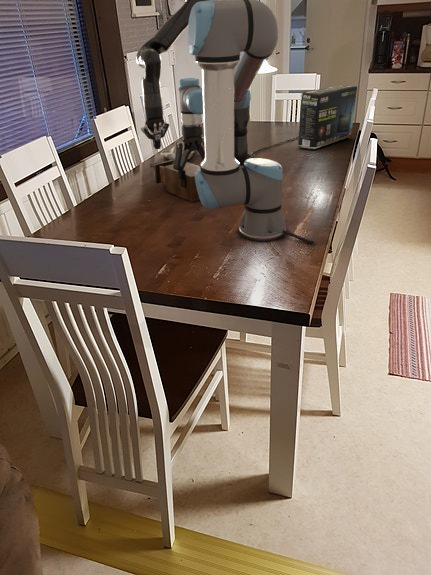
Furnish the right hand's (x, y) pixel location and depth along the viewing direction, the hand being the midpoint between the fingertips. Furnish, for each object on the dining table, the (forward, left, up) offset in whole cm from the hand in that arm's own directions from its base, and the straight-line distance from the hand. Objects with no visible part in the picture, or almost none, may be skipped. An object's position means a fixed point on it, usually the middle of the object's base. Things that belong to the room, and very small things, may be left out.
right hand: (195, 183), depth 179 cm
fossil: (+37, -43, -5) cm, 57 cm away
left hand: (+23, -8, +9) cm, 26 cm away
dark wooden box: (+4, -1, -5) cm, 7 cm away
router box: (-20, -98, -5) cm, 100 cm away
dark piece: (+15, -6, -4) cm, 17 cm away
